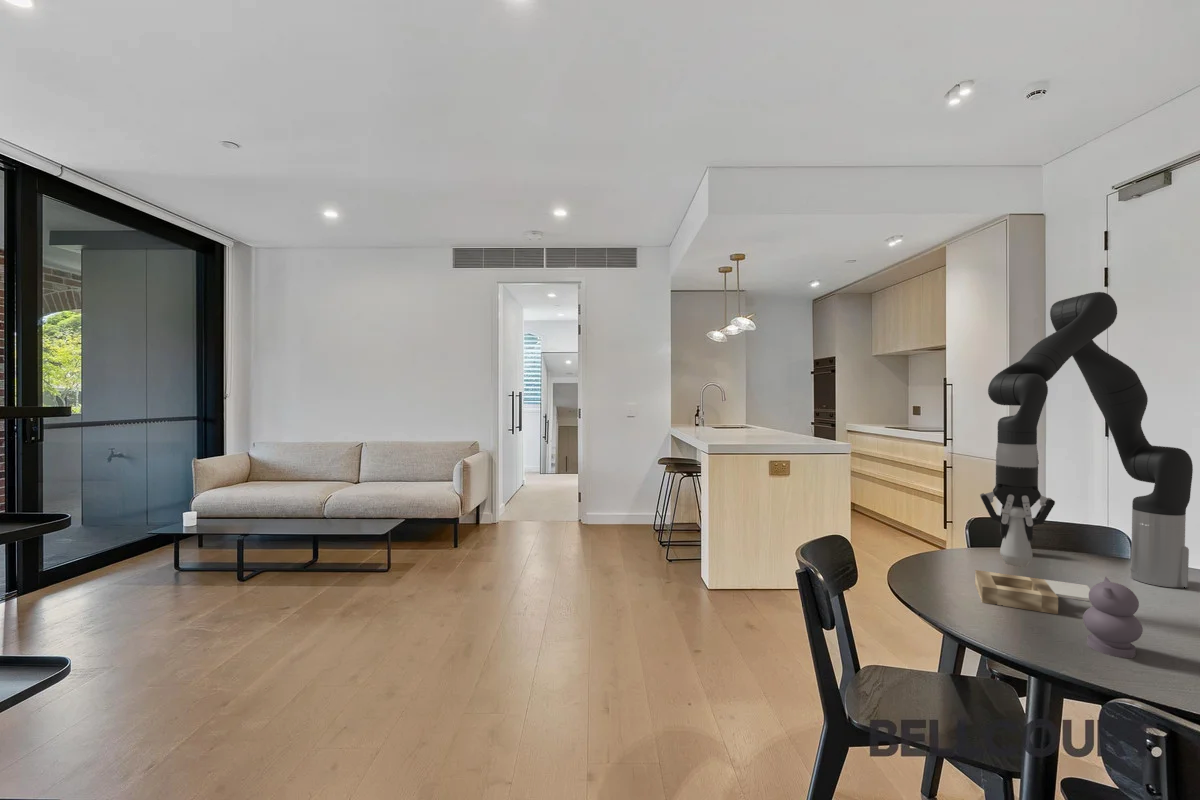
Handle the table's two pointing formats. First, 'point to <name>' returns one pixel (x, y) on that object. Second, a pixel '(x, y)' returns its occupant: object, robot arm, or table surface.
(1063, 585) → the grey tile
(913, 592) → the table surface
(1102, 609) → the stacked rounded figure
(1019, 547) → the salt shaker
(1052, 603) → the socket block
